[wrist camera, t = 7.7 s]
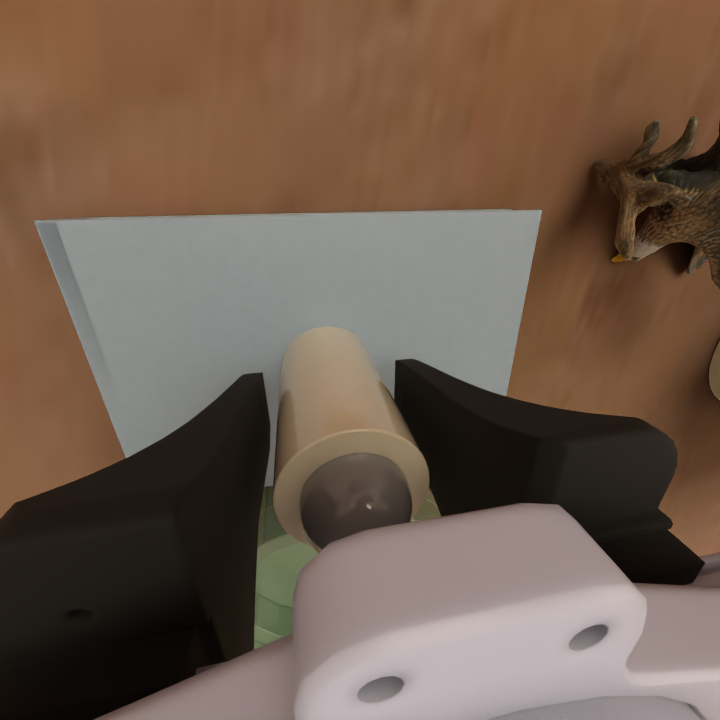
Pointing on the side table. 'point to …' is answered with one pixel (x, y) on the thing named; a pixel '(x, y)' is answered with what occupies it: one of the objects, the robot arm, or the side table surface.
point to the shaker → (341, 443)
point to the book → (284, 300)
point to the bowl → (288, 570)
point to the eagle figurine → (668, 199)
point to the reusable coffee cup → (715, 373)
